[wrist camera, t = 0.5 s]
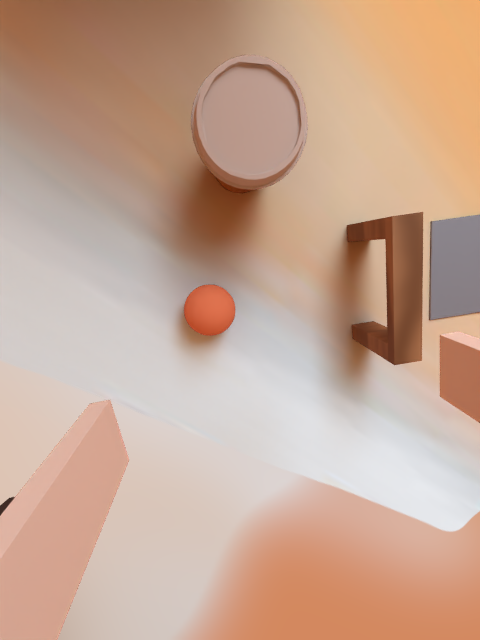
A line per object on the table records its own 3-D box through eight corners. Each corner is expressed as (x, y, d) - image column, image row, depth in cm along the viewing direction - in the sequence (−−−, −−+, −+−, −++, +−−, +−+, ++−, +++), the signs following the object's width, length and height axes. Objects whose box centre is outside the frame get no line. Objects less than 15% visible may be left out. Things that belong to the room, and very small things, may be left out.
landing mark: (430, 221, 38) (432, 221, 38) (526, 208, 38) (528, 207, 38) (429, 319, 41) (430, 319, 41) (517, 305, 42) (519, 305, 41)
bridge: (352, 338, 41) (394, 365, 31) (347, 225, 37) (392, 216, 28) (373, 335, 41) (421, 360, 31) (370, 222, 37) (423, 212, 28)
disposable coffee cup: (295, 151, 35) (335, 100, 23) (252, 223, 36) (269, 209, 24) (225, 99, 33) (231, 15, 21) (183, 177, 34) (166, 139, 23)
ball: (182, 285, 37) (176, 292, 31) (230, 278, 37) (232, 284, 32) (191, 331, 38) (186, 345, 33) (236, 324, 39) (240, 337, 33)
